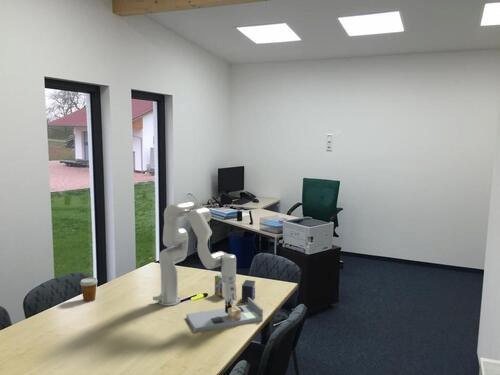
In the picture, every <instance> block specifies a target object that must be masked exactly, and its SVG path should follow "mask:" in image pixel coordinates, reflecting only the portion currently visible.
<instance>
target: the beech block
mask: <svg viewBox="0 0 500 375" xmlns="http://www.w3.org/2000/svg"><path fill="white" fill-rule="evenodd" d="M237 306H238V305H236V306H232V307H231V308H228V318H229V319H230V320H231V321H235V320H239V319H241V309H239V308H238V307H237Z"/></svg>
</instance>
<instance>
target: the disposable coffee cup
mask: <svg viewBox="0 0 500 375" xmlns="http://www.w3.org/2000/svg"><path fill="white" fill-rule="evenodd" d="M98 281H99V280H98V279H97V278H96V277H86V278H82V279H81V280H80V282H79V284H80V287H81V292H82V297H83V302H85V301H86V302H85V303H90V301H91V302H94V301H95V300H96V295H97V287H98V286H97V284H98Z"/></svg>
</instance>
